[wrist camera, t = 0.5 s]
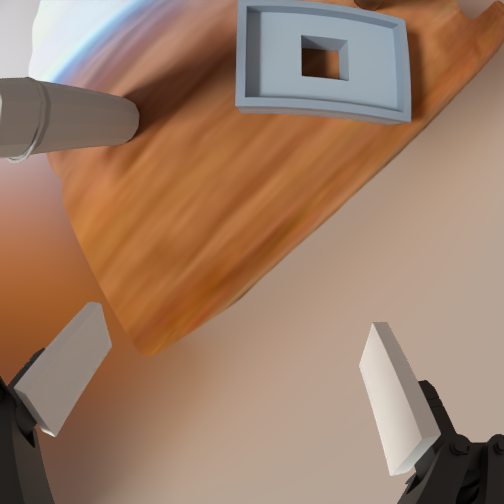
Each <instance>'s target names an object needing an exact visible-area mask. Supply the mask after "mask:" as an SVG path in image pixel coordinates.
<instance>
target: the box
mask: <svg viewBox="0 0 504 504" xmlns="http://www.w3.org/2000/svg"><path fill="white" fill-rule="evenodd" d="M301 48H308V49H319V50H328V51H336V52H339V80H336V79H327V78H317V77H305V76H302V70H301ZM235 106H236V107H237V109H238V110H239V111H240V112H241V113H268V114H294V115H310V116H322V117H333V118H343V119H351V120H359V121H366V122H373V123H380V124H386V125H393V124H402V123H411V81H410V64H409V51H408V41H407V32H406V25H405V20H404V19H400V18H397V17H393V16H389V15H385V14H381V13H377V12H373V11H368V10H363V9H358V8H353V7H347V6H341V5H335V4H327V3H319V2H309V1H297V0H238V14H237V49H236V100H235Z"/></svg>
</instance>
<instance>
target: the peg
mask: <svg viewBox="0 0 504 504" xmlns="http://www.w3.org/2000/svg"><path fill="white" fill-rule="evenodd" d="M354 2H355V3H356V5H357V6H359V7H360V8H362V9H364V10H368V11H374V10H376V9H377V8H378V7H379V6H380V5H381V4H382V3H383V2H384V0H354Z"/></svg>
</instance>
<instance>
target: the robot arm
mask: <svg viewBox="0 0 504 504" xmlns="http://www.w3.org/2000/svg"><path fill="white" fill-rule="evenodd" d="M111 347H112V344H111V341H110V337H109V333H108V330H107V326H106V322H105V318H104V314H103V310H102V306H101V303H94V302H88V303H87V304H86V305H85V306H84V307H83V308H82V309H81V311H80V312H79V313H78V314H77V315H76V316H75V317H74V318H73V319H72V320H71V321H70V322H69V323H68V324H67V326H66V327H65V328H64V329H63V330H62V331H61V332H60V333H59V334H58V336H57V337H56V338H55V339H54V340H53V341H52V342H51V343H50V345H49V346H48V347H47V348H46V349H45V348H42V349H41V350H39V351H38V352H36V353H35V354H34V355H33V356H32V357H31V358H30V359H29V362H27V363H26V364H25V365H24V368H22V369H21V370H20V371H19V373H18V374H17V375H16V376H15V377H14V379H13V380H12V381H11V382H10V384H9V385H8V386H6V385H5V383H4V381H3V380H2V378H1V376H0V504H55V503H54V500H53V497H52V494H51V491H50V488H49V484H48V481H47V477H46V473H45V469H44V465H43V461H42V456H41V452H40V447H39V441H38V436H37V432H36V429H35V428H34V426H35V425H36V423H37V424H38V425H39V426H40V428H41V429H42V430H43V431H44V432H46V433H48V434H50V435H52V436H54V437H56V435H57V434H58V432H59V430H60V428H61V427H62V425H63V423H64V422H65V420H66V418H67V416H68V415H69V413H70V412H71V410H72V408H73V407H74V405H75V403H76V402H77V400H78V398H79V397H80V395H81V394H82V392H83V390H84V389H85V387H86V385H87V384H88V382H89V381H90V379H91V377H92V376H93V375H94V373H95V371H96V370H97V368H98V367H99V365H100V364H101V362H102V361H103V359H104V358H105V356H106V355H107V353H108V352H109V350H110V349H111ZM359 367H360V370H361V373H362V376H363V379H364V382H365V386H366V389H367V392H368V395H369V399H370V402H371V405H372V409H373V412H374V416H375V420H376V423H377V426H378V430H379V434H380V438H381V441H382V445H383V448H384V453H385V457H386V461H387V465H388V469H389V473H390V476H393V475H397V474H402V473H406V472H408V471H409V470H410V469H411V468H412V467H413V466H415V469H416V473H414V474H413V475H412V476H411V477H410V478H409V479H408V481H407V482H406V483H405V484H408V483H409V484H408V486H407V488H406V490H405V491H404V493H403V495H402V496H401V498H400V500H399V501H398V503H397V504H504V435H502V434H496V435H494V436H492V437H491V438H490V439H489V441H488V442H485V443H472V442H470V441H469V440H468V438H466V437H465V436H463V435H460V434H457V433H456V431H455V429H454V427H453V425H452V423H451V420H450V418H449V416H448V414H447V412H446V410H445V408H444V406H443V404H442V402H441V400H440V399H439V396H438V394H437V392H436V390H435V388H434V387H433V386H432V385H431V384H430V383H429V382H428V381H427V380H424V381H417V379H416V377H415V375H414V373H413V371H412V369H411V367H410V365H409V363H408V361H407V359H406V357H405V355H404V353H403V351H402V349H401V347H400V345H399V344H398V342H397V340H396V338H395V336H394V334H393V332H392V330H391V328H390V327H389V325H388V323H387V322H373V323H372V326H371V330H370V333H369V336H368V340H367V343H366V346H365V349H364V352H363V356H362V359H361V362H360V364H359Z"/></svg>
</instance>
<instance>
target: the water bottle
mask: <svg viewBox="0 0 504 504" xmlns="http://www.w3.org/2000/svg"><path fill="white" fill-rule="evenodd" d="M138 125H139V112H138V110H137V108H136V105H135V103H133V102H131V101H130V100H128V99H126V98H123V97H119V96H115V95H111V94H106V93H102V92H97V91H93V90H88V89H83V88H78V87H73V86H68V85H62V84H56V83H50V82H43V81H36V80H35V79H33V78H30V77H25V78H2V79H0V158H6V159H7V160H8V161H9V162H11V163H20V162H21V161H23V160H25V159H27V158H28V157H29V155H32V154H39V153H45V152H52V151H60V150H68V149H77V148H87V147H98V146H112V145H122V144H124V143H125V142H127V141H128V140H130V139H131V138H132V137H133V135H134V134H135V132H136V130H137V128H138ZM17 157H22V158H20V159H12V158H17Z"/></svg>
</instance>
